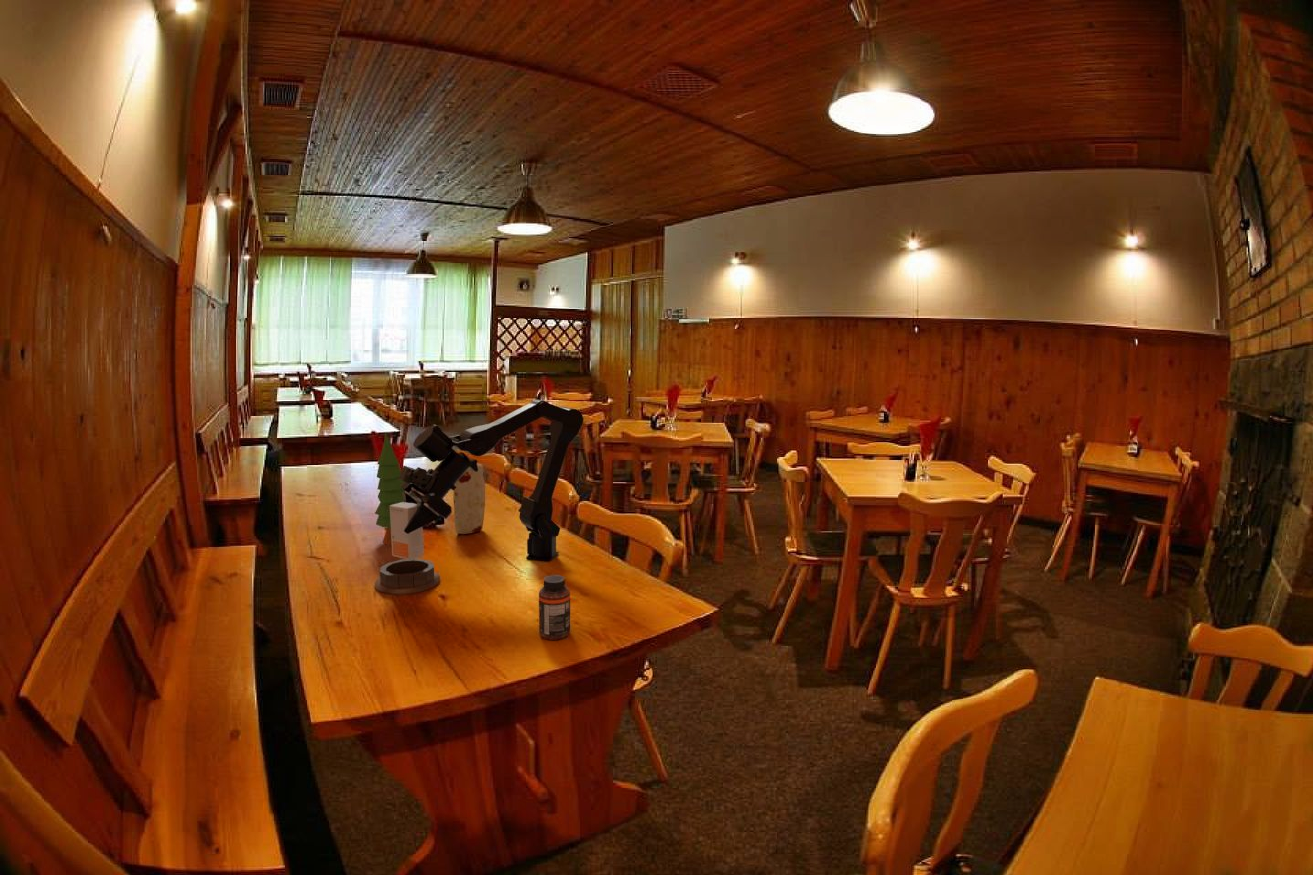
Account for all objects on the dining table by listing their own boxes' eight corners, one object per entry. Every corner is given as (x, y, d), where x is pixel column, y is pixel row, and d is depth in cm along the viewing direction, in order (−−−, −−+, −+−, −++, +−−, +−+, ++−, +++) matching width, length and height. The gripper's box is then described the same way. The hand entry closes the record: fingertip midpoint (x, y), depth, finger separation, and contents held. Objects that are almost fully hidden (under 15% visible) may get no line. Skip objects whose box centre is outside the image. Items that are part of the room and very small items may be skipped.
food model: (462, 538, 193) (461, 467, 190) (448, 533, 197) (446, 464, 194) (491, 530, 200) (490, 462, 197) (476, 526, 204) (475, 459, 201)
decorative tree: (371, 540, 189) (366, 431, 184) (403, 533, 196) (399, 428, 192) (389, 548, 183) (384, 435, 178) (421, 540, 190) (418, 432, 185)
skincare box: (391, 556, 157) (388, 505, 156) (406, 551, 161) (403, 501, 159) (410, 561, 154) (407, 508, 153) (425, 555, 158) (422, 504, 156)
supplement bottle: (540, 628, 137) (540, 572, 135) (570, 627, 137) (570, 572, 135) (537, 641, 131) (537, 583, 129) (569, 641, 131) (569, 583, 129)
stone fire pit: (451, 575, 164) (451, 560, 163) (418, 597, 150) (417, 580, 150) (398, 569, 167) (398, 554, 166) (361, 590, 154) (360, 574, 153)
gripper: (407, 446, 164) (361, 498, 159) (435, 459, 149) (384, 517, 144) (442, 475, 170) (398, 526, 165) (471, 490, 155) (424, 546, 150)
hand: (400, 528), depth 156 cm, fingers closed on skincare box, 7 cm apart
